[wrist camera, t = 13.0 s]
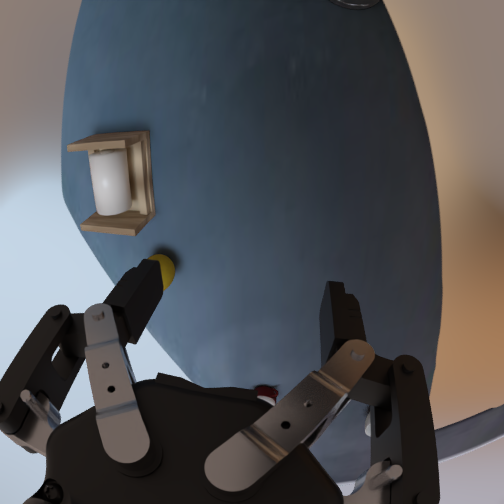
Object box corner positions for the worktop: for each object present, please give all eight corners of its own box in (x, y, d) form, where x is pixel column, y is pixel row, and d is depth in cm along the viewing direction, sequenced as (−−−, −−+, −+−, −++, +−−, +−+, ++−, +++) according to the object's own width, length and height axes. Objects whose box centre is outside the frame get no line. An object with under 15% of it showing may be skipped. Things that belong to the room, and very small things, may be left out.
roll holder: (94, 134, 39) (67, 145, 33) (149, 130, 38) (124, 140, 32) (104, 211, 46) (81, 230, 40) (155, 214, 45) (135, 236, 39)
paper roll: (120, 144, 39) (85, 152, 36) (131, 148, 36) (92, 157, 33) (125, 199, 44) (94, 208, 41) (137, 209, 41) (102, 220, 38)
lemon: (147, 247, 48) (125, 274, 42) (175, 244, 47) (156, 272, 40) (157, 274, 51) (139, 302, 44) (185, 272, 50) (169, 302, 43)
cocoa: (276, 380, 64) (273, 423, 53) (284, 394, 66) (282, 435, 56) (239, 385, 66) (231, 427, 56) (248, 399, 69) (243, 439, 58)
